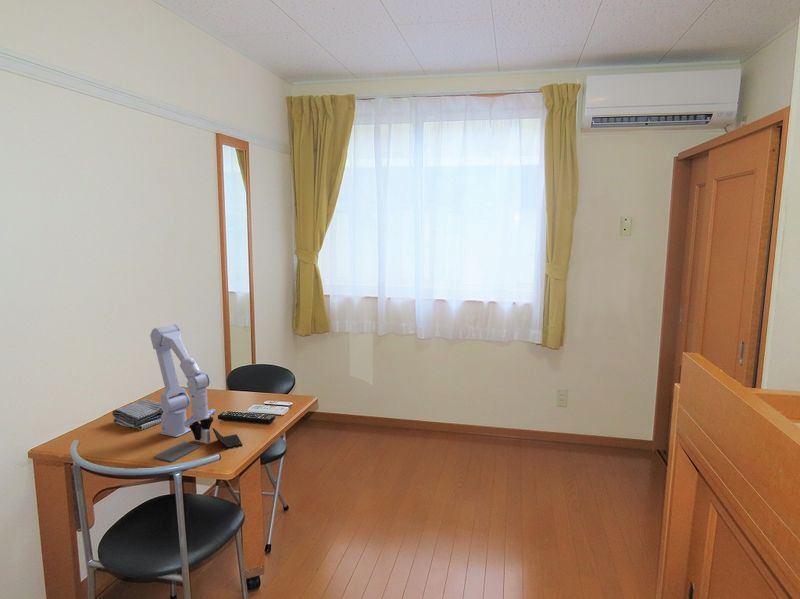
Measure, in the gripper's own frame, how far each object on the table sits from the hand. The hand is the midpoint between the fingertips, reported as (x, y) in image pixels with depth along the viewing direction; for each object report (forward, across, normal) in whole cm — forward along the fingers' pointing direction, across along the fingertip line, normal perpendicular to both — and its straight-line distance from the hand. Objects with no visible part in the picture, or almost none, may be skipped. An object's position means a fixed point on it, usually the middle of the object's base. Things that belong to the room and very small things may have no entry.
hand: (201, 437), depth 198 cm
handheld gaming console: (+2, +2, -11) cm, 11 cm away
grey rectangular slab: (+1, -11, +1) cm, 11 cm away
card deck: (+2, 0, 0) cm, 2 cm away
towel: (+2, +5, +39) cm, 39 cm away
